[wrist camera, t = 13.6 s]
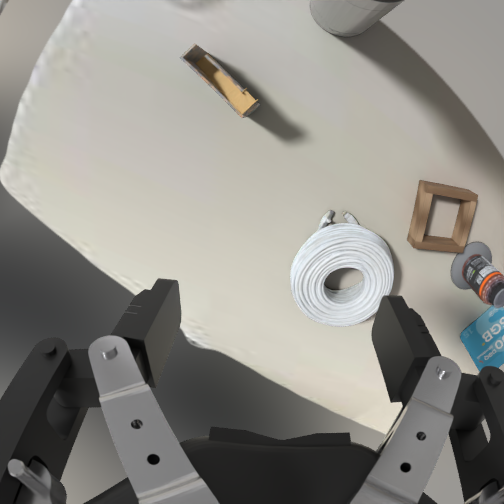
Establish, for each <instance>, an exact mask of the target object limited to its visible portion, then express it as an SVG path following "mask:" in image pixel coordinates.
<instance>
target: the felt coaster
mask: <svg viewBox="0 0 504 504" xmlns="http://www.w3.org/2000/svg"><path fill="white" fill-rule="evenodd" d="M474 254H480V255H482V256H483V257H484V258H486V259H487V260H488V261H489V262H490V263H492V255H491V251H490V249H489V248H488V247H487V246H486V245H485V244H484V243H482V242H472V243H470V244H468V245H466V246H465V248H464V251H463V253H458V254H457V255H456V257H455V259H454V261H453V263H452V267H451V278H452V281H453V283H454V284H455V285H456V286H457V287H458V288H460V289H471V287H470V286H469V284H468V283H467V282H466V281H465V280H464V278H463V276H462V268H463V265H464V263H465V261H466V260H467V259H468V258H469V257H470V256H472V255H474Z"/></svg>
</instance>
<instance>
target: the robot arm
mask: <svg viewBox="0 0 504 504" xmlns="http://www.w3.org/2000/svg"><path fill="white" fill-rule="evenodd" d="M403 1H404V0H311V1H310V10H311V14H312V16H313V18H314V20H315V21H316V22H317V24H318V25H320V26H321V27H322V28H323V29H324V30H326V31H328V32H330V33H332V34H334V35H338V36H344V37H350V36H355V35H359V34H361V33H362V32H364V31H365V30H367V29H368V28H369V27H370V26H372V25H373V24H374V23H376V22H377V21H378V20H379V19H381V18H382V17H383V16H384V15H386V14H387V13H388V12H390V11H391V10H392V9H394V8H395V7H396V6H398V5H399V4H400V3H402V2H403ZM180 323H181V305H180V294H179V284H178V281H177V280H170V279H160V278H159V279H157V281H156V282H155V284H154V286H153V287H152V289H151V290H146V289H145V290H143V291H142V292H141V293H139V294H138V295H136V296H135V297H134V299H133V301H132V302H131V304H130V306H129V307H128V308H127V310H126V313H124V314H123V316H122V318H121V319H120V321H119V322H118V324H117V325H116V327H115V329H114V330H113V332H112V333H111V335H110V336H105V337H101V338H99V339H97V340H96V341H94V342H93V343H92V344H91V346H90V347H89V349H75V350H68V347H67V345H66V343H65V342H64V341H63V340H62V339H59V338H47V339H44V340H42V341H40V342H39V343H38V344H37V345H36V346H35V347H34V348H33V350H32V351H31V353H30V354H29V356H28V357H27V359H26V360H25V362H24V363H23V365H22V366H21V368H20V369H19V371H18V372H17V374H16V375H15V377H14V378H13V380H12V382H11V383H10V385H9V386H8V388H7V390H6V391H5V393H4V395H3V396H2V398H1V400H0V504H66V499H67V494H66V490H65V487H64V486H63V484H62V483H61V482H60V480H61V477H62V474H63V471H64V468H65V466H66V463H67V460H68V458H69V455H70V453H71V450H72V447H73V445H74V442H75V440H76V437H77V435H78V432H79V429H80V427H81V425H82V422H83V420H84V417H85V415H86V413H87V410H88V408H89V407H102V410H103V413H104V416H105V419H106V422H107V425H108V428H109V431H110V434H111V436H112V439H113V442H114V444H115V447H116V449H117V452H118V454H119V457H120V459H121V462H122V464H123V466H124V469H125V471H126V473H127V476H128V477H127V478H125V479H124V480H122V481H121V482H119V483H118V484H116V485H114V486H113V487H111V488H110V489H108V490H106V491H104V492H103V493H101V494H100V495H98V496H96V497H94V498H93V499H91V500H89V501H87V502H86V503H84V504H437V503H436V502H435V501H434V500H432V499H431V498H430V497H429V496H428V495H426V494H425V493H424V492H423V491H424V489H425V487H426V485H427V483H428V480H429V478H430V476H431V474H432V471H433V470H434V467H435V465H436V463H437V460H438V458H439V456H440V453H441V451H442V448H443V446H444V443H445V440H446V438H447V435H448V433H449V437H450V440H451V444H452V448H453V452H454V456H455V460H456V464H457V469H458V473H459V478H460V482H461V487H462V492H463V497H464V504H504V372H503V371H502V370H500V369H499V368H497V367H494V366H485V367H483V368H482V369H481V371H480V372H479V374H478V375H477V376H476V375H471V374H465V373H461V370H460V368H459V366H458V365H457V364H456V363H455V362H454V361H453V360H451V359H449V358H447V357H443V356H441V354H440V352H439V350H438V348H437V346H436V344H435V342H434V340H433V338H432V336H431V335H430V334H429V331H428V329H427V327H425V323H424V321H423V320H422V318H421V316H420V315H419V314H418V313H417V312H415V311H414V310H413V309H412V308H408V306H407V304H406V302H405V301H404V299H403V297H402V296H390V295H384V296H383V297H382V299H381V301H380V305H379V308H378V311H377V314H376V317H375V320H374V324H373V327H372V342H373V345H374V348H375V351H376V354H377V357H378V361H379V364H380V367H381V370H382V374H383V377H384V381H385V384H386V387H387V391H388V394H389V398H390V402H391V403H392V402H402V405H403V407H402V408H401V410H400V411H399V413H398V415H397V417H396V419H395V420H394V422H393V424H392V426H391V427H390V429H389V431H388V433H387V434H386V436H385V438H384V440H383V441H382V443H381V444H380V446H379V447H378V449H377V450H376V451H374V450H372V449H371V448H369V447H366V446H364V445H361V444H358V443H353V442H351V440H350V433H316V434H312V435H307V436H302V437H297V438H292V439H286V440H278V439H274V438H270V437H267V436H263V435H259V434H256V433H253V432H249V431H246V430H237V429H228V428H219V427H211V429H210V434H209V436H202V437H196V438H192V439H189V440H186V441H183V442H181V443H179V442H178V440H177V439H176V437H175V435H174V433H173V432H172V430H171V428H170V426H169V424H168V423H167V421H166V419H165V417H164V415H163V413H162V411H161V409H160V407H159V405H158V403H157V401H156V399H155V397H154V395H153V393H152V391H151V389H150V387H153V388H156V386H157V384H158V381H159V378H160V376H161V373H162V371H163V368H164V365H165V363H166V360H167V358H168V355H169V352H170V350H171V347H172V345H173V342H174V340H175V337H176V335H177V332H178V330H179V327H180ZM484 419H486V422H487V424H488V427H489V430H490V434H491V436H490V441H489V443H488V441H487V438H486V435H485V432H484V430H483V427H482V424H481V423H482V421H483V420H484Z"/></svg>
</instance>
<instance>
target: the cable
mask: <svg viewBox="0 0 504 504" xmlns="http://www.w3.org/2000/svg"><path fill="white" fill-rule="evenodd" d="M333 214H334V211H332V210H329V211H328V212H327V214H326V215H325V216H324V217H323V218H322V220H321V222H320V224H319V229H318V231H317V232H316V233H314V234H313V235H312V236H311V237H310V238H309V239H308V240H307V241H306V242H305V243H304V244H303V246H302V247H301V249H300V250H299V252H298V253H297V255H296V256H295V258H294V261H293V263H292V267H291V273H290V282H291V291H292V295H293V297H294V300H295V302H296V304H297V305H298V307H299V308H300V310H301V311H302V312H303V313H304V314H305V315H306V316H307V317H309V318H310V319H312V320H314V321H316V322H318V323H322V324H325V325H330V326H338V327H342V326H351V325H355V324H358V323H361V322H363V321H365V320H366V319H368V318H369V317H371V316H372V315H373V314H375V313H376V312H377V311H378V308H379V305H380V301H381V299H382V297H383V296H384V295H389V294H390V292H391V289H392V285H393V280H394V265H393V260H392V256H391V252H390V250H389V248H388V246H387V244H386V243H385V242H384V240H383V239H382V238H381V237H379V236H378V235H377V234H375V233H374V232H372V231H370V230H368V229H366V228H364V227H362V226H360V225H358V222H357V221H356V219H355V218H354V217H353V216H352V215H351V214H350V213H348V212H345V211H343V213H342V214H343V216H344V218H345V219H346V220H347V221H348V222H349V223H338V224H333V225H330V226H327V224H328V223H330V222H331V218H332V216H333ZM326 226H327V227H326ZM347 267H348V268H355V269H358V270H360V271H361V272H362V273H363V276H364V277H363V280H362V281H361V282H360V283H358V284H356V285H354V286H352V287H349V288H347V289H343V290H330V289H328V288H327V287H325V285H324V282H325V279H326V278H327V276H328V275H329V274H330V273H331V272H333V271H334V270H337V269H340V268H347Z"/></svg>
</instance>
